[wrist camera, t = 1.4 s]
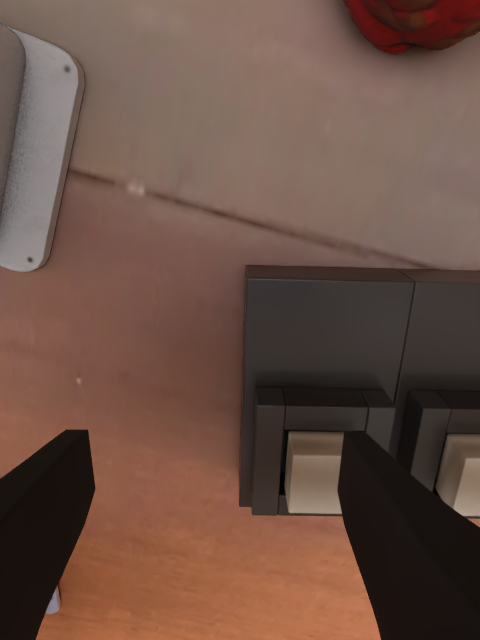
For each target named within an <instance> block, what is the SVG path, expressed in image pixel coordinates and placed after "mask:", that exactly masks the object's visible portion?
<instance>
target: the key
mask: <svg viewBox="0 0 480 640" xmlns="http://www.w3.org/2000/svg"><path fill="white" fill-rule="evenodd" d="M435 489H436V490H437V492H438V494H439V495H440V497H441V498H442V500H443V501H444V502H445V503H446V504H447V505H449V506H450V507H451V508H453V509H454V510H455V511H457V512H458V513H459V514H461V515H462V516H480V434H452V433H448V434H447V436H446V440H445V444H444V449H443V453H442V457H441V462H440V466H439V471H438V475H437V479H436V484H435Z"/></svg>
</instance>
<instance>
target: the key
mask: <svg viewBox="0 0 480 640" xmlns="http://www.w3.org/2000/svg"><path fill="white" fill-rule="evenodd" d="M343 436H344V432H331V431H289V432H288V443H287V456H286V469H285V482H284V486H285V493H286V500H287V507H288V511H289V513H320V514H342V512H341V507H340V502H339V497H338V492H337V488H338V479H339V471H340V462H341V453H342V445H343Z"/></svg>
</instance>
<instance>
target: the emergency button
mask: <svg viewBox="0 0 480 640" xmlns="http://www.w3.org/2000/svg"><path fill="white" fill-rule="evenodd" d="M84 88H85V81H84V71H83V70H82V68H81V66H80V65H79V63H78V61H77V60H76V58H74V57H73V56H71V55H70V54H68V53H67V52H65V51H64V50H62V49H61V48H59V47H57V46H56V45H53V44H51V43H48V42H46V41H43V40H40V39H38V38H35V37H33V36H30V35H28V34H25V33H23V32H20V31H18V30H15V29H13V28H10V27H8V26H5V25H3V24H0V266H1V267H5V268H8V269H11V270H14V271H22V272H29V271H31V270H34V269H36V268H38V267H41V266H43V265H45V263H46V261H47V260H48V258H49V256H50V251H51V246H52V241H53V237H54V232H55V227H56V222H57V217H58V213H59V208H60V203H61V198H62V193H63V189H64V184H65V179H66V174H67V169H68V165H69V160H70V155H71V150H72V145H73V140H74V136H75V131H76V126H77V121H78V116H79V112H80V107H81V102H82V97H83V92H84Z"/></svg>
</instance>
